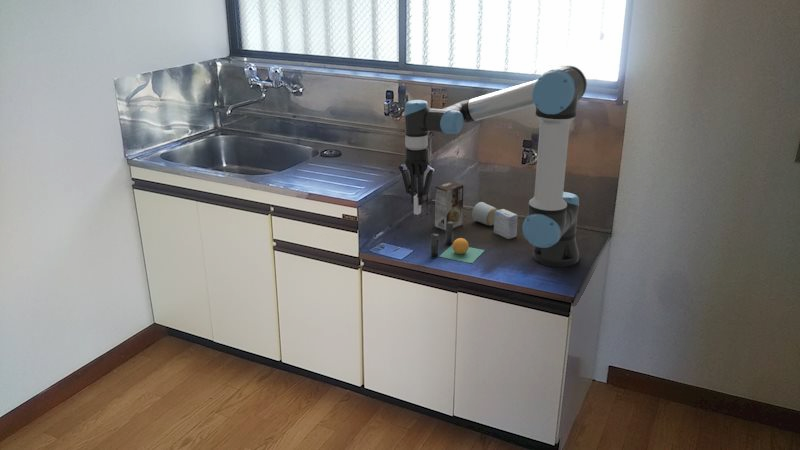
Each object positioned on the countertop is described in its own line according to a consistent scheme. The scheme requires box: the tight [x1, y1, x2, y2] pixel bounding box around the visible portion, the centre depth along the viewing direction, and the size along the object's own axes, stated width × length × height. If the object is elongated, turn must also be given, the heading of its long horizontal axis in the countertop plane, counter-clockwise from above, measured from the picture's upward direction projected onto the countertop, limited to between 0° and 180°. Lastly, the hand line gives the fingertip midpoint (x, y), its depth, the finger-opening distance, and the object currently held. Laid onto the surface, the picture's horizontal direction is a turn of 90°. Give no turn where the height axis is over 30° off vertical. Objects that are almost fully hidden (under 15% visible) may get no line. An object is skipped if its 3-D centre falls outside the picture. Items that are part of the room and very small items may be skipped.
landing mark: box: [438, 244, 486, 264], centre depth 233 cm, size 12×12×1 cm
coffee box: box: [434, 180, 464, 231], centre depth 255 cm, size 9×6×16 cm
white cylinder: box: [471, 201, 498, 227], centre depth 260 cm, size 11×8×8 cm
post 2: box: [445, 221, 454, 246], centre depth 240 cm, size 3×3×8 cm
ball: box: [453, 237, 470, 254], centre depth 233 cm, size 6×6×6 cm
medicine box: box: [493, 208, 519, 240], centre depth 248 cm, size 8×4×9 cm, turn 34°
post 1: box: [430, 232, 440, 259], centre depth 230 cm, size 3×3×8 cm
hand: (417, 213), depth 236 cm, fingers closed
